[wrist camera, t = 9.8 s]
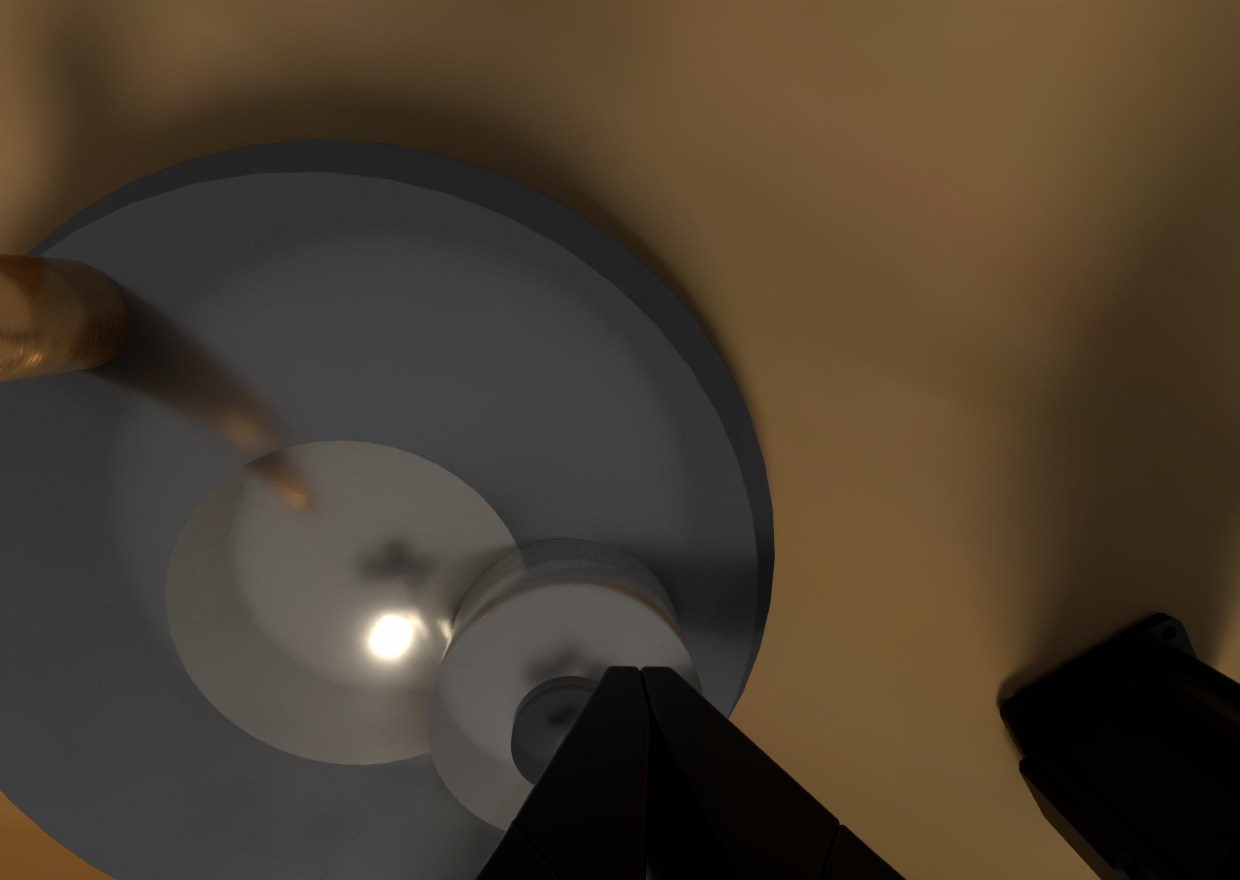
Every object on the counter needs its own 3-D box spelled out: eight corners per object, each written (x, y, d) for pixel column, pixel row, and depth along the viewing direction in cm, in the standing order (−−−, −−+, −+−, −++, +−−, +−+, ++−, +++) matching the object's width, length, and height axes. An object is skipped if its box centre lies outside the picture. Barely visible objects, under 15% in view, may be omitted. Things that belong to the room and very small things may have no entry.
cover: (464, 526, 16) (435, 597, 12) (697, 552, 17) (736, 628, 13) (440, 734, 17) (408, 856, 13) (658, 750, 18) (683, 870, 14)
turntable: (-79, 103, 14) (-418, 4, 9) (816, 262, 16) (920, 250, 12) (-25, 875, 19) (-235, 1081, 14) (674, 913, 21) (706, 1100, 16)
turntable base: (485, -40, 15) (479, -62, 14) (887, 655, 21) (902, 673, 20) (-244, 457, 17) (-294, 467, 16) (313, 992, 22) (302, 1024, 21)
